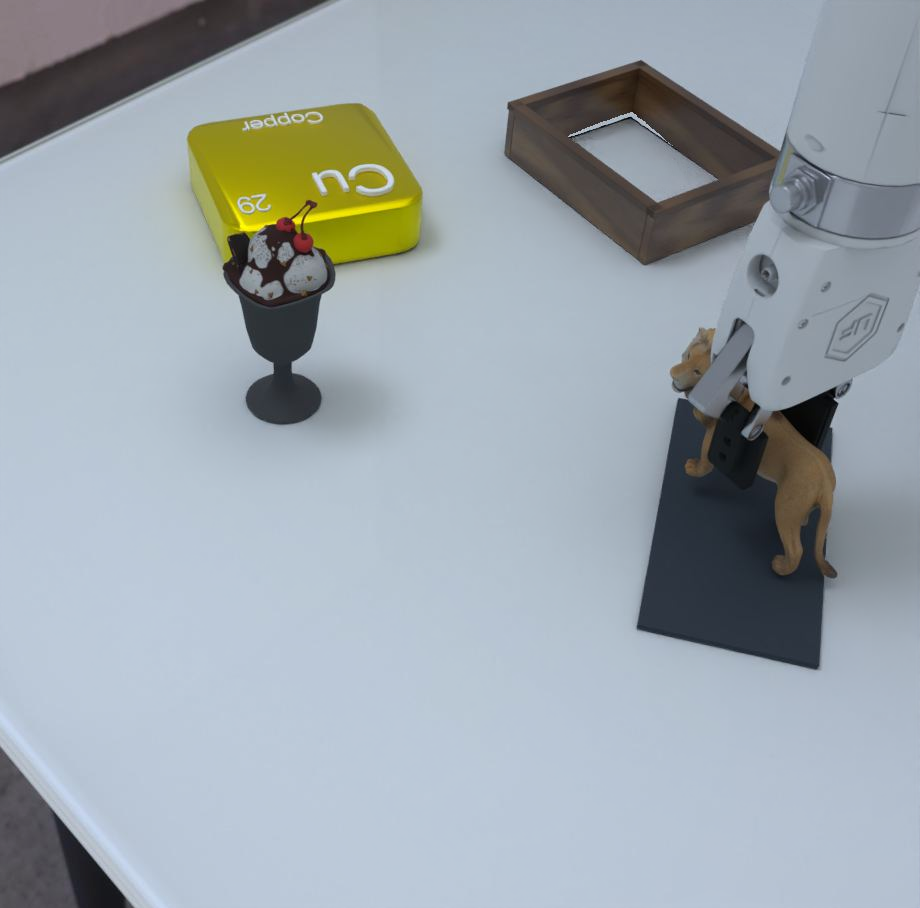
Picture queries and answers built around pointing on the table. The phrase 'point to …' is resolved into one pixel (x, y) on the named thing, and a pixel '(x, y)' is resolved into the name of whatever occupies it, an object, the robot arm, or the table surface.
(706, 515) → the mat
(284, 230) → the sundae
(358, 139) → the element tile
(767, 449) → the lion figurine
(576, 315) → the table surface
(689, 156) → the wooden box
